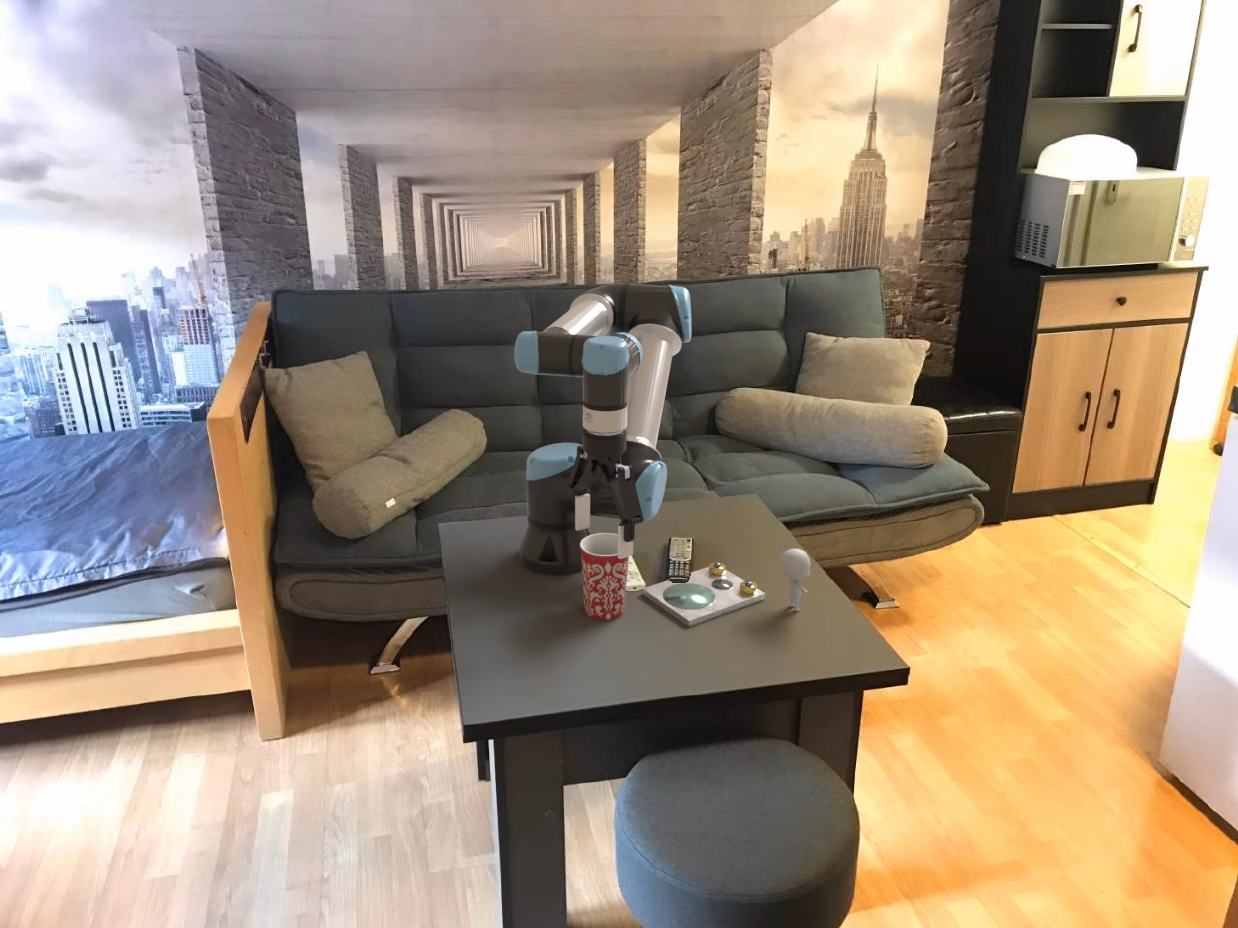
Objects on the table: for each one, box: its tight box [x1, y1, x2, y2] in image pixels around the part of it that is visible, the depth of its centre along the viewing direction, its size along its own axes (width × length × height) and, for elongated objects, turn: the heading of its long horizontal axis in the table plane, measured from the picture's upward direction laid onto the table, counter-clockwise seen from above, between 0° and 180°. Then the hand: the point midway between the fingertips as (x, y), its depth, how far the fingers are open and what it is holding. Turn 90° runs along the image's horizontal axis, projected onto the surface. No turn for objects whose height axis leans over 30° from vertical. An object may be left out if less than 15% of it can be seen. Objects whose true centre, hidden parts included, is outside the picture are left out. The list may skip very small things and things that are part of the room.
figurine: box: [779, 547, 811, 612], centre depth 175 cm, size 8×5×12 cm
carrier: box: [641, 561, 766, 628], centre depth 180 cm, size 14×18×3 cm
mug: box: [580, 532, 630, 621], centre depth 175 cm, size 13×9×14 cm
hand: (603, 542), depth 172 cm, fingers open, 13 cm apart
